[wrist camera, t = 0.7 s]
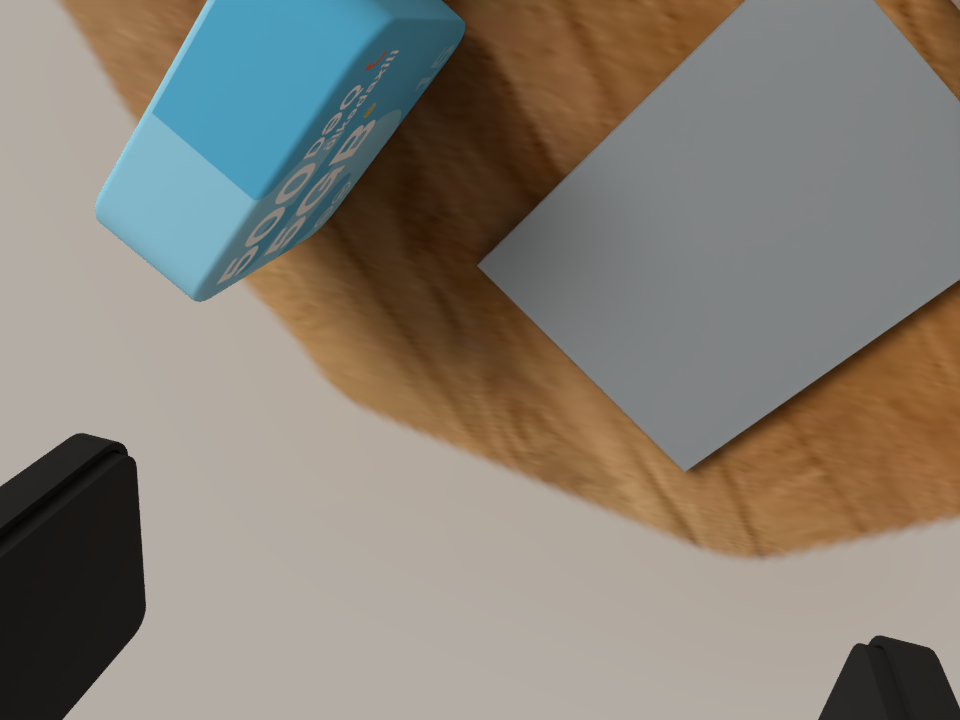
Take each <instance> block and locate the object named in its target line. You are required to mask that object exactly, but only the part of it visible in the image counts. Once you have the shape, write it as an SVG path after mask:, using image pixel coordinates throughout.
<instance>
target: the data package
mask: <svg viewBox="0 0 960 720" xmlns="http://www.w3.org/2000/svg"><path fill="white" fill-rule="evenodd" d="M464 32H465V23H464V21H463V20H462V19H461V18H460V17H459V16H458V15H457V14H456V13H455V12H454V11H453V10H452V9H451V8H449V7H448V6H447V5H446V4H445V3H444V2H443V1H442V0H207V2H206V4H205V6H204V8H203V9H202V11H201V13H200V15H199V16H198V18H197V20H196V22H195V24H194V25H193V27H192V29H191V31H190V33H189V34H188V36H187V38H186V40H185V41H184V43H183V45H182V47H181V49H180V50H179V52H178V54H177V56H176V58H175V59H174V61H173V63H172V65H171V67H170V68H169V70H168V72H167V74H166V75H165V77H164V79H163V81H162V83H161V84H160V86H159V88H158V90H157V92H156V93H155V95H154V97H153V99H152V100H151V102H150V104H149V106H148V108H147V109H146V111H145V113H144V115H143V117H142V118H141V120H140V122H139V124H138V125H137V127H136V129H135V131H134V133H133V134H132V136H131V138H130V140H129V142H128V143H127V145H126V147H125V149H124V150H123V152H122V154H121V156H120V158H119V159H118V161H117V163H116V165H115V167H114V169H113V170H112V172H111V174H110V176H109V177H108V179H107V181H106V183H105V184H104V186H103V188H102V190H101V192H100V194H99V196H98V198H97V201H96V204H95V215H96V218H97V219H98V221H99V222H100V223H101V224H102V225H103V226H105V227H106V228H107V229H108V230H109V231H111V232H112V233H113V234H114V235H116V236H117V237H118V238H119V239H120V240H122V241H123V242H124V243H125V244H126V245H127V246H129V247H130V248H131V249H132V250H134V251H135V252H136V253H137V254H138V255H140V256H141V257H142V258H143V259H144V260H146V261H147V262H148V263H149V264H150V265H152V266H153V267H154V268H155V269H156V270H158V271H159V272H160V273H161V274H162V275H164V276H165V277H166V278H167V279H168V280H170V281H171V282H172V283H173V284H174V285H176V286H177V287H178V288H179V289H180V290H182V291H183V292H184V293H185V294H186V295H188V296H189V297H190V298H191V299H193V300H195V301H198V302H201V301H205V300H207V299H209V298H211V297H212V296H214V295H216V294H218V293H219V292H221V291H223V290H224V289H226V288H228V287H229V286H231V285H232V284H234V283H236V282H237V281H239V280H241V279H242V278H244V277H246V276H247V275H249V274H250V273H252V272H254V271H255V270H257V269H259V268H260V267H262V266H264V265H265V264H267V263H268V262H270V261H272V260H273V259H275V258H277V257H278V256H280V255H282V254H283V253H285V252H286V251H288V250H290V249H291V248H293V247H295V246H296V245H298V244H300V243H301V242H303V241H304V240H306V239H308V238H309V237H311V236H312V235H313V234H314V233H315V232H317V231H318V230H319V229H320V228H321V227H322V226H323V225H324V224H325V222H326V221H327V220H328V219H329V218H330V217H331V216H332V214H333V213H334V212H335V211H336V209H337V208H338V207H339V205H340V204H341V203H342V201H343V200H344V199H345V197H346V196H347V195H348V193H349V192H350V191H351V189H352V188H353V187H354V185H355V184H356V182H357V181H358V180H359V178H360V177H361V176H362V174H363V173H364V172H365V170H366V169H367V168H368V166H369V165H370V164H371V162H372V161H373V160H374V158H375V157H376V156H377V154H378V153H379V152H380V150H381V149H382V148H383V146H384V145H385V144H386V142H387V141H388V140H389V138H390V137H391V136H392V134H393V133H394V131H395V130H396V129H397V127H398V126H399V125H400V123H401V122H402V121H403V119H404V118H405V117H406V115H407V114H408V113H409V111H410V110H411V109H412V107H413V106H414V105H415V103H416V102H417V101H418V99H419V98H420V97H421V95H422V94H423V93H424V91H425V90H426V89H427V87H428V86H429V84H430V83H431V82H432V80H433V79H434V78H435V76H436V75H437V74H438V72H439V71H440V70H441V68H442V67H443V66H444V64H445V63H446V62H447V60H448V59H449V58H450V56H451V55H452V53H453V52H454V51H455V49H456V48H457V46H458V44H459V43H460V41H461V39H462V37H463V35H464Z"/></svg>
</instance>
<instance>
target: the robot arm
mask: <svg viewBox="0 0 960 720" xmlns="http://www.w3.org/2000/svg"><path fill="white" fill-rule="evenodd" d="M143 571H144V570H143V555H142V540H141V526H140V510H139V496H138V480H137V467H136V462H135V460H134V459H133V458H132V457H130V456H128V452H127V449H126V447H125V446H124V445H123V444H121V443H119V442H116V441H112V440H108V439H104V438H100V437H96V436H92V435H88V434H84V433H79V434H75V435H73V436H72V437H70V438H68V439H67V440H65V441H64V442H63V443H61V444H60V445H59V446H57V447H56V448H54V449H53V450H52V451H50V452H49V453H47V454H46V455H44V456H43V457H41V458H40V459H39V460H37V461H36V462H34V463H33V464H32V465H30V466H29V467H27V468H26V469H25V470H23V471H22V472H20V473H19V474H17V475H16V476H15V477H14V478H12V479H10V480H9V481H8V482H6V483H5V484H3V485H2V486H1V487H0V720H62V719H63V718H64V717H65V716H66V714H68V712H69V711H70V710H71V709H72V708H73V707H74V705H75V704H76V703H77V702H78V701H79V700H80V698H81V697H82V696H83V695H84V694H85V693H86V691H87V690H88V689H89V688H90V687H91V686H92V684H93V683H94V682H95V681H96V680H97V678H98V677H99V676H100V675H101V674H102V673H103V671H104V670H105V669H106V668H107V667H108V666H109V664H110V663H111V662H112V661H113V660H114V659H115V657H116V656H117V655H118V654H119V653H120V652H121V650H122V649H123V648H124V647H125V646H126V645H127V643H128V642H129V641H130V640H131V639H132V637H133V636H134V635H135V634H136V632H137V631H138V629H139V627H140V625H141V624H142V621H143V618H144V615H145V611H146V609H145V608H146V601H145V585H144V572H143ZM818 720H960V708H959V705H958V703H957V701H956V698H955V696H954V694H953V691H952V689H951V687H950V685H949V682H948V680H947V677H946V675H945V673H944V670H943V668H942V666H941V664H940V661H939V659H938V657H937V655H936V654H935V652H934V651H933V650H931V649H930V648H928V647H924V646H920V645H916V644H913V643H909V642H904V641H900V640H896V639H893V638H889V637H885V636H875V637H874V638H873V639H872V640H871V641H870V643H869V644H868V645H865V644H861V643H858V644H856V645H855V646H854V647H853V649H852V650H851V652H850V654H849V656H848V658H847V660H846V662H845V664H844V667H843V669H842V671H841V673H840V675H839V677H838V679H837V681H836V683H835V685H834V688H833V690H832V692H831V694H830V696H829V698H828V700H827V702H826V705H825V706H824V708H823V711H822V713H821V715H820V717H819V719H818Z"/></svg>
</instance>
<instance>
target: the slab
mask: <svg viewBox="0 0 960 720" xmlns="http://www.w3.org/2000/svg"><path fill="white" fill-rule="evenodd" d="M951 1H952V2H953V3H954V4H955V6H956V7H957V8H958V9H959V10H960V0H951Z"/></svg>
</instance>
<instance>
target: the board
mask: <svg viewBox="0 0 960 720" xmlns="http://www.w3.org/2000/svg"><path fill="white" fill-rule="evenodd" d="M477 266H478V267H479V268H480V269H481V270H482V271H483V272H484V273H485V274H486V275H487V276H488V277H489V278H490V279H491V280H492V281H493V282H494V283H495V284H496V285H497V286H498V287H499V288H500V289H501V290H502V291H503V292H504V293H505V294H506V295H507V296H508V297H509V298H510V299H511V300H512V301H513V302H514V303H515V304H516V305H517V306H518V307H519V308H520V309H521V310H522V311H523V312H524V313H525V314H526V315H527V316H528V317H529V318H530V319H531V320H532V321H533V322H534V323H535V324H536V325H537V326H538V327H539V328H540V329H541V330H542V331H543V332H544V333H545V334H546V335H547V336H548V337H549V338H550V339H551V340H552V341H553V342H554V343H555V344H556V345H557V346H558V347H559V348H560V349H561V350H562V351H563V352H564V353H565V354H566V355H567V356H568V357H569V358H570V359H571V360H572V361H573V362H574V363H575V364H576V365H577V366H578V367H579V368H580V369H581V370H582V371H583V372H584V373H585V374H586V375H587V376H588V377H589V378H590V379H591V380H592V381H593V382H594V383H595V384H596V385H597V386H599V387H600V388H601V389H602V390H603V391H604V392H605V393H606V394H607V395H608V396H609V397H610V398H611V399H612V400H613V401H614V402H615V403H616V404H617V405H618V406H619V407H620V408H621V409H622V410H623V411H624V412H625V413H626V414H627V415H628V416H629V417H630V418H631V419H632V420H633V421H634V422H635V423H636V424H637V425H638V426H639V427H640V428H641V429H642V430H643V431H644V432H645V433H646V434H647V435H648V436H649V437H650V438H651V439H652V440H653V441H654V442H655V443H656V444H657V445H658V446H659V447H660V448H661V449H662V450H663V451H664V452H665V453H666V454H667V455H668V456H669V457H670V458H671V459H672V460H673V461H674V462H675V463H676V464H677V465H678V466H679V467H680V468H681V469H682V470H683V471H684V472H685V471H687V470H688V469H690V468H691V467H693V466H694V465H695V464H697V463H698V462H700V461H701V460H703V459H704V458H705V457H707V456H708V455H710V454H711V453H713V452H714V451H715V450H717V449H718V448H720V447H721V446H723V445H724V444H725V443H727V442H728V441H730V440H731V439H733V438H734V437H735V436H737V435H738V434H740V433H741V432H743V431H744V430H745V429H747V428H748V427H750V426H751V425H753V424H754V423H755V422H757V421H758V420H760V419H761V418H763V417H764V416H765V415H767V414H768V413H770V412H771V411H773V410H774V409H775V408H777V407H778V406H780V405H781V404H783V403H784V402H785V401H787V400H788V399H790V398H791V397H793V396H794V395H795V394H797V393H798V392H800V391H801V390H803V389H804V388H805V387H807V386H808V385H810V384H811V383H813V382H814V381H815V380H817V379H818V378H820V377H821V376H823V375H824V374H825V373H827V372H828V371H830V370H831V369H833V368H834V367H835V366H837V365H838V364H840V363H841V362H843V361H844V360H845V359H847V358H848V357H850V356H851V355H853V354H854V353H855V352H857V351H858V350H860V349H861V348H862V347H864V346H865V345H867V344H868V343H870V342H871V341H872V340H874V339H875V338H877V337H878V336H880V335H881V334H882V333H884V332H885V331H887V330H888V329H890V328H891V327H892V326H894V325H895V324H897V323H898V322H900V321H901V320H902V319H904V318H905V317H907V316H908V315H910V314H911V313H912V312H914V311H915V310H917V309H918V308H920V307H921V306H922V305H924V304H925V303H927V302H928V301H930V300H931V299H932V298H934V297H935V296H937V295H938V294H940V293H941V292H942V291H944V290H945V289H947V288H948V287H950V286H951V285H952V284H954V283H955V282H957V281H958V280H960V101H959V100H958V99H957V98H956V97H955V95H954V94H953V93H952V92H951V91H950V90H949V88H948V87H947V86H946V85H945V84H944V83H943V81H942V80H941V79H940V78H939V77H938V75H937V74H936V73H935V72H934V71H933V70H932V68H931V67H930V66H929V65H928V64H927V62H926V61H925V60H924V59H923V58H922V57H921V55H920V54H919V53H918V52H917V51H916V50H915V48H914V47H913V46H912V45H911V44H910V42H909V41H908V40H907V39H906V38H905V37H904V35H903V34H902V33H901V32H900V31H899V29H898V28H897V27H896V26H895V25H894V24H893V22H892V21H891V20H890V19H889V18H888V17H887V15H886V14H885V13H884V12H883V11H882V9H881V8H880V7H879V6H878V5H877V4H876V2H875V1H874V0H745V1H744V2H742V3H741V4H740V5H739V6H738V7H737V8H736V9H735V10H734V11H733V12H732V13H731V14H730V15H729V16H728V17H727V18H726V19H725V20H724V21H723V22H722V23H721V24H720V25H719V26H718V27H717V28H716V29H715V30H714V31H713V32H712V33H711V34H710V35H709V36H708V37H707V38H706V39H705V40H704V41H703V42H702V43H701V44H700V45H699V46H698V47H697V48H696V49H695V50H694V51H693V52H692V53H691V54H690V55H689V56H688V57H687V58H686V59H685V60H684V61H683V62H682V63H681V64H680V65H679V66H678V67H677V68H676V69H675V70H674V71H673V72H672V73H671V74H670V75H668V76H667V77H666V78H665V79H664V80H663V81H662V82H661V83H660V84H659V85H658V86H657V87H656V88H655V89H654V90H653V91H652V92H651V93H650V94H649V95H648V96H647V97H646V98H645V99H644V100H643V101H642V102H641V103H640V104H639V105H638V106H637V107H636V108H635V109H634V110H633V111H632V112H631V113H630V114H629V115H628V116H627V117H626V118H625V119H624V120H623V121H622V122H621V123H620V124H619V125H618V126H617V127H616V128H615V129H614V130H613V131H612V132H611V133H610V134H609V135H608V136H607V137H606V138H605V139H604V140H603V141H602V142H601V143H600V144H599V145H598V146H597V147H596V148H595V149H593V150H592V151H591V152H590V153H589V154H588V155H587V156H586V157H585V158H584V159H583V160H582V161H581V162H580V163H579V164H578V165H577V166H576V167H575V168H574V169H573V170H572V171H571V172H570V173H569V174H568V175H567V176H566V177H565V178H564V179H563V180H562V181H561V182H560V183H559V184H558V185H557V186H556V187H555V188H554V189H553V190H552V191H551V192H550V193H549V194H548V195H547V196H546V197H545V198H544V199H543V200H542V201H541V202H540V203H539V204H538V205H537V206H536V207H535V208H534V209H533V210H532V211H531V212H530V213H529V214H528V215H527V216H526V217H525V218H524V219H523V220H522V221H521V222H520V223H518V224H517V225H516V226H515V227H514V228H513V229H512V230H511V231H510V232H509V233H508V234H507V235H506V236H505V237H504V238H503V239H502V240H501V241H500V242H499V243H498V244H497V245H496V246H495V247H494V248H493V249H492V250H491V251H490V252H489V253H488V254H487V255H486V256H485V257H484V258H483V259H482V260H481V261H480V263H479V264H478V265H477Z"/></svg>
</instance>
